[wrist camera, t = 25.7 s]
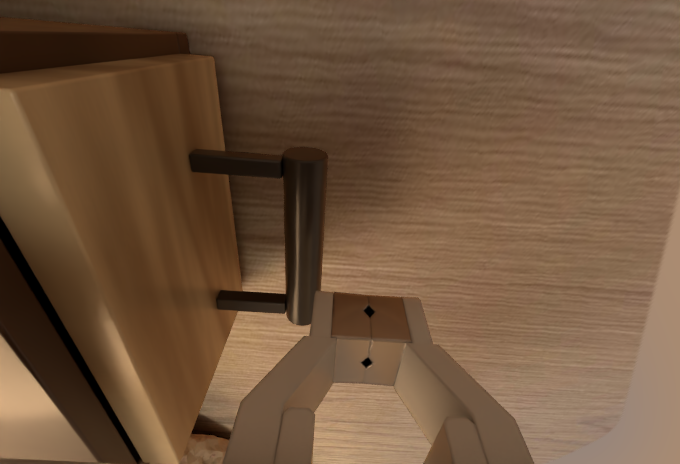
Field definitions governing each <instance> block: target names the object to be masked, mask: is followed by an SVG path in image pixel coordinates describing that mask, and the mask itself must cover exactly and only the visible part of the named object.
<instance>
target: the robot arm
mask: <svg viewBox="0 0 680 464" xmlns="http://www.w3.org/2000/svg"><path fill="white" fill-rule="evenodd" d="M333 382H335V383H364V384H375V385H386V386H394V389H395V391H396V392H397V394H398V395H399V397H400V398H401V400H402V401H403V403H404V404H405V406H406V407H407V409H408V410H409V412H410V413H411V415H412V416H413V418H414V419H415V421H416V422H417V424H418V426H419V427H420V429H421V430H422V432H423V433H424V435H425V436H426V438H427V439H428V441H429V442H430V444H431V445H432V447H431V449H430V451H429V453H428V455H427V457H426V459H425V461H424V463H423V464H534V462H533V459H532V457H531V455H530V453H529V450H528V448H527V446H526V443H525V441H524V439H523V437H522V434H521V432H520V430H519V427H518V425H517V423H516V421H515V419H514V418H513V417H512V416H511V415H510V414H509V413H508V412H507V411H506V410H505V409H504V408H503V407H502V406H501V405H500V404H499V403H498V402H497V401H496V400H495V399H494V398H493V397H492V396H491V395H490V394H489V393H488V392H487V391H486V390H485V389H484V388H483V387H481V386H480V385H479V384H478V383H477V382H476V381H475V380H474V379H473V378H472V377H471V376H470V375H469V374H468V373H467V372H466V371H465V370H464V369H463V368H462V367H461V366H460V365H459V364H458V363H457V362H456V361H455V360H454V359H453V358H452V357H451V356H450V355H449V354H448V353H447V352H446V351H445V350H444V349H442V348H441V347H440V346H439V345H436V344H433V342H432V338H431V335H430V331H429V328H428V325H427V321H426V318H425V314H424V311H423V307H422V304H421V300H420V299H419V298H416V297H395V296H378V295H362V294H351V293H340V292H334V293H333V292H325V291H316V292H315V297H314V305H313V313H312V321H311V328H310V336H304V337H303V338H302V339H301V340H300V341H299V342H298V343H297V344H296V345H295V346H294V347H293V348H292V349H291V350H290V351H289V352H288V353H287V354H286V355H285V356H284V357H283V358H282V359H281V361H280V362H279V363H278V364H277V365H276V366H275V367H274V368H273V369H272V370H271V371H270V372H269V373H268V374H267V375H266V376H265V377H264V378H263V379H262V380H261V381H260V382H259V383H258V384H257V385H256V386H255V388H254V389H253V390H252V391H251V392H250V393H249V394H248V395H247V396H246V397H245V398H244V399H243V400H242V401H241V403H240V406H239V409H238V413H237V416H236V419H235V423H234V426H233V430H232V433H231V436H230V440H229V443H228V446H227V450H226V453H225V456H224V460H223V463H222V464H312V457H313V441H314V424H315V414H314V412H315V411H316V409H317V408H318V406H319V405H320V403H321V401H322V400H323V398H324V397H325V395H326V394H327V392H328V391H329V389H330V388H331V386H332V384H333ZM0 464H112V463H94V462H76V461H58V460H39V459H21V458H3V457H0Z"/></svg>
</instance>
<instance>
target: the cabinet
mask: <svg viewBox="0 0 680 464" xmlns="http://www.w3.org/2000/svg"><path fill="white" fill-rule="evenodd" d="M173 54H190V53H189V46H188V40H187V35H186V33H181V32H169V31H158V30H147V29H135V28H124V27H112V26H101V25H89V24H78V23H67V22H55V21H44V20H32V19H21V18H9V17H0V74H2V73H11V72H20V71H29V70H38V69H47V68H56V67H65V66H74V65H83V64H92V63H101V62H110V61H119V60H128V59H137V58H146V57H155V56H164V55H173ZM0 457H3V458H21V459H39V460H58V461H76V462H94V463H112V464H150V463H145V462H143V461H142V459H141V457H140V455H139V454H138V452H137V450H136V449H135V447H134V445H133V443H132V442H131V440H130V438H129V436H128V435H127V433H126V431H125V430H124V428H123V426H122V424H121V423H120V421H119V419H118V418H117V416H116V415H115V417H114V418H113V420H112V421H111V419H110V417H109V416H108V414H107V413H106V411H105V409H104V408H103V406H102V404H101V403H100V401H99V399H98V398H97V396H96V394H95V393H94V391H93V389H92V388H91V386H90V385H89V383H88V381H87V380H86V378H85V376H84V375H83V373H82V371H81V370H80V368H79V366H78V365H77V363H76V361H75V360H74V358H73V357H72V355H71V353H70V352H69V350H68V348H67V347H66V345H65V343H64V342H63V340H62V338H61V337H60V335H59V334H58V332H57V330H56V329H55V327H54V325H53V324H52V322H51V320H50V319H49V317H48V315H47V314H46V312H45V310H44V309H43V307H42V306H41V304H40V302H39V301H38V299H37V297H36V296H35V294H34V292H33V291H32V289H31V287H30V286H29V284H28V282H27V281H26V279H25V278H24V276H23V274H22V273H21V271H20V269H19V268H18V266H17V264H16V263H15V261H14V259H13V258H12V256H11V255H10V253H9V251H8V250H7V248H6V246H5V245H4V243H3V241H2V240H1V238H0Z"/></svg>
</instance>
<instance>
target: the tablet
mask: <svg viewBox="0 0 680 464" xmlns="http://www.w3.org/2000/svg"><path fill="white" fill-rule="evenodd" d="M228 443H229V440H228V439H224V438H219V437H216V436H214V435H203V434H191V435H190V438H189V440H188V443H187V445H186V448H185V451H184V453H183V456H182V459H181V461H180V463H179V464H222V463H223V460H224V456H225V453H226V450H227V446H228ZM150 464H167V463H150Z"/></svg>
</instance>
